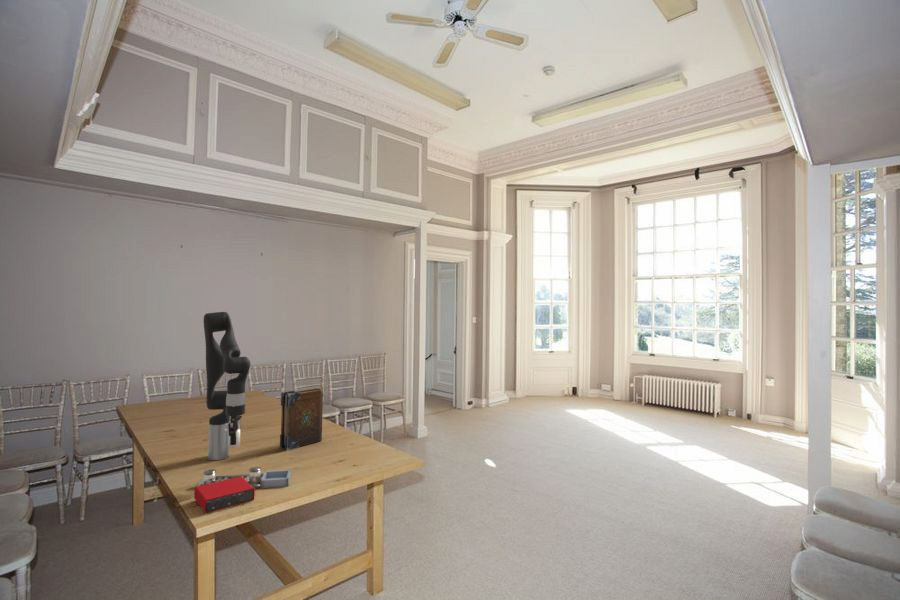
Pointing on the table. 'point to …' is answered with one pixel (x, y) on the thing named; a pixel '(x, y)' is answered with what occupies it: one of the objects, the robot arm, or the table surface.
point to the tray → (275, 478)
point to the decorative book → (301, 418)
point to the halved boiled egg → (236, 439)
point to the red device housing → (224, 494)
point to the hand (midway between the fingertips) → (234, 442)
